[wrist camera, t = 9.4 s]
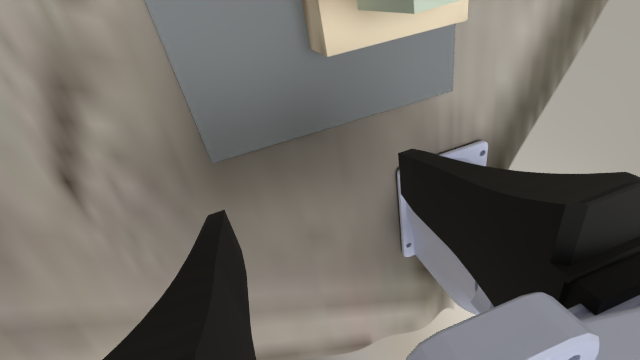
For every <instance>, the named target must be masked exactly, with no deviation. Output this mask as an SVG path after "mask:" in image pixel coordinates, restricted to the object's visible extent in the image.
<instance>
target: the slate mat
mask: <svg viewBox="0 0 640 360" xmlns="http://www.w3.org/2000/svg"><path fill="white" fill-rule="evenodd" d="M145 2H146V5H147V7H148V10H149V12H150V14H151V17H152V19H153V22H154V24H155V26H156V29H157V31H158V34H159V36H160V39H161V41H162V43H163V46H164V48H165V51H166V53H167V55H168V58H169V60H170V63H171V65H172V68H173V70H174V72H175V75H176V77H177V80H178V82H179V84H180V87H181V89H182V92H183V94H184V97H185V99H186V101H187V104H188V106H189V109H190V111H191V114H192V116H193V118H194V121H195V123H196V126H197V128H198V130H199V133H200V135H201V138H202V140H203V143H204V145H205V147H206V150H207V152H208V155H209V157H210V159H211V162H212V163H215V162H218V161H222V160H225V159H228V158H232V157H235V156H238V155H241V154H245V153H248V152H251V151H255V150H258V149H261V148H265V147H268V146H271V145H275V144H278V143H281V142H285V141H288V140H291V139H295V138H298V137H301V136H305V135H308V134H311V133H315V132H318V131H321V130H325V129H328V128H331V127H335V126H338V125H341V124H345V123H348V122H351V121H355V120H358V119H361V118H365V117H368V116H371V115H375V114H378V113H381V112H385V111H388V110H391V109H394V108H398V107H401V106H404V105H408V104H411V103H414V102H418V101H421V100H424V99H428V98H431V97H434V96H438V95H441V94H444V93H448V92H451V91H453V74H454V44H455V24H451V25H447V26H444V27H440V28H436V29H432V30H428V31H425V32H421V33H417V34H413V35H409V36H406V37H402V38H398V39H394V40H390V41H386V42H383V43H379V44H375V45H371V46H367V47H364V48H360V49H356V50H352V51H348V52H345V53H341V54H337V55H333V56H329V57H327V56H324V55H322V54H320V53H318V52H316V51H314V50H312V49H311V46H310V41H309V36H308V30H307V25H306V20H305V14H304V9H303V4H302V0H145Z"/></svg>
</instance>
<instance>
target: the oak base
mask: <svg viewBox="0 0 640 360" xmlns="http://www.w3.org/2000/svg"><path fill="white" fill-rule="evenodd" d="M302 4H303V9H304V14H305V20H306V25H307V30H308V36H309V41H310V46H311V49H312V50H314V51H316V52H318V53H320V54H322V55H324V56H327V57H329V56H333V55H337V54H341V53H345V52H348V51H352V50H356V49H360V48H364V47H367V46H371V45H375V44H379V43H383V42H386V41H390V40H394V39H398V38H402V37H406V36H409V35H413V34H417V33H421V32H425V31H428V30H432V29H436V28H440V27H444V26H447V25H451V24H455V23H459V22H463V21H466V20H467V15H468V0H460V1H457V2H453V3H450V4H447V5H443V6H440V7H436V8H433V9H430V10H426V11H423V12H419V13H416V14H408V13H394V12H379V11H364V10H358V6H357V0H302Z"/></svg>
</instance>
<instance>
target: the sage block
mask: <svg viewBox="0 0 640 360" xmlns="http://www.w3.org/2000/svg"><path fill="white" fill-rule="evenodd" d="M457 1H460V0H357V6H358V10H364V11H379V12H394V13H408V14H416V13H419V12H423V11H426V10H430V9H433V8H436V7H440V6H443V5H447V4H450V3H453V2H457Z"/></svg>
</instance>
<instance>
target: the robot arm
mask: <svg viewBox="0 0 640 360" xmlns="http://www.w3.org/2000/svg"><path fill="white" fill-rule="evenodd" d="M481 151H482V152H481ZM487 151H488V143H487V142H485V141H478V142H475V143H472V144H469V145H466V146H463V147H460V148H457V149H454V150H451V151H448V152H445V153H442V154H439V155H436V154H433V153H429V152H425V151H421V150H416V149H410V150H407V151H404V152H401V153H398V156H399V170H398V172H397V180H398V195H399V210H400V225H401V240H402V253H403V255H404V256H405V257H410V256H413V255H416V256H417V257H418V259H419V260H420V261H421V262H422V263H423V265H424V266H425V267H426V268H427V270H428V271H429V272H430V273H431V274H432V276H433V277H434V278H435V279H436V280H437V282H438V283H439V284H440V285H441V287H442V288H443V289H444V290H445V291H446V293H447V294H448V295H449V296H450V297H451V299H452V300H453V301H454V302H455V303H456V304H458V305H459V306H460V307H462V308H463V309H465V310H467V311H469V312H471V313H473V314H476V316H473V317H471V318H469V319H467V320H464V321H462V322H460V323H457V324H455V325H453V326H450V327H448V328H446V329H443V330H441V331H439V332H437V333H436V334H434V335H432V336H430V337H429V338H427V339H426V340H424V341H422V342H420V343H419V344H418V345H417V346H416V348H415V349H414V350H413V351H412V352H411V353H410V354H409V356H407V359H406V360H640V177H638V176H636V175H633V174H630V173H627V172H617V173H596V174H549V173H533V172H522V171H512V170H505V169H498V168H492V167H486V161H487ZM103 360H256V357H255V351H254V346H253V340H252V334H251V326H250V314H249V301H248V288H247V276H246V269H245V264H244V259H243V255H242V250H241V248H240V245H239V243H238V240H237V238H236V236H235V233H234V231H233V229H232V226H231V224H230V222H229V219H228V217H227V215H226V212H225V210H223V211H220V212H217V213H214V214H210V215H208V217H207V218H206V220H205V223H204V225H203V227H202V229H201V231H200V233H199V236H198V238H197V240H196V242H195V244H194V246H193V248H192V250H191V252H190V254H189V255H188V257H187V259H186V261H185V262H184V264H183V266H182V268H181V269H180V271H179V273H178V274H177V276H176V277H175V279H174V280H173V282H172V283H171V285H170V286H169V287H168V289H167V290H166V291H165V293H164V294H163V296H162V297H161V298H160V299H159V301H158V302H157V303H156V304H155V305H154V307H153V308H152V309H151V310H150V311H149V312H148V314H147V315H146V316H145V317H144V318H143V320H142V321H141V322H140V323H139V324H138V325H137V326H136V327H135V328H134V329H133V330H132V331H131V332H130V334H129V335H128V336H127V337H126V338H125V339H124V340H123V341H122V342H121V343H120V344H119V345H118V346H117V347H116V348H114V349H113V350H112V351H111V352H110V353H109V354H108V355H107V356H106V357H105V358H104V359H103Z"/></svg>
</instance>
